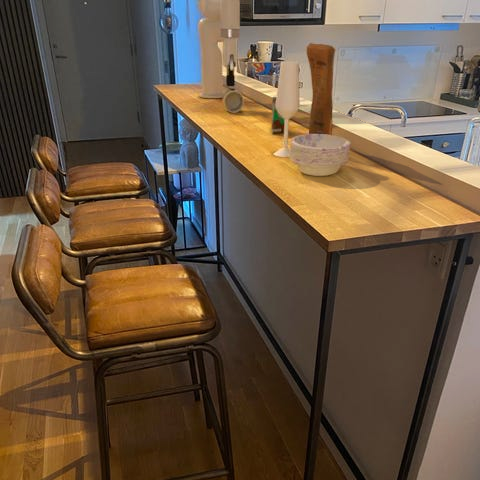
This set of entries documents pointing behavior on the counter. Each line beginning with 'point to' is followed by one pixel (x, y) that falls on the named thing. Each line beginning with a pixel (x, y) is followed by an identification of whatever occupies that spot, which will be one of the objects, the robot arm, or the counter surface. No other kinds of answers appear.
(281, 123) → the food container
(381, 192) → the counter surface
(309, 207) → the counter surface
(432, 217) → the counter surface
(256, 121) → the counter surface
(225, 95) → the teal cup
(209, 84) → the robot arm
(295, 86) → the champagne flute
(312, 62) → the pancake mix bag
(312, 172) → the paper bowls
